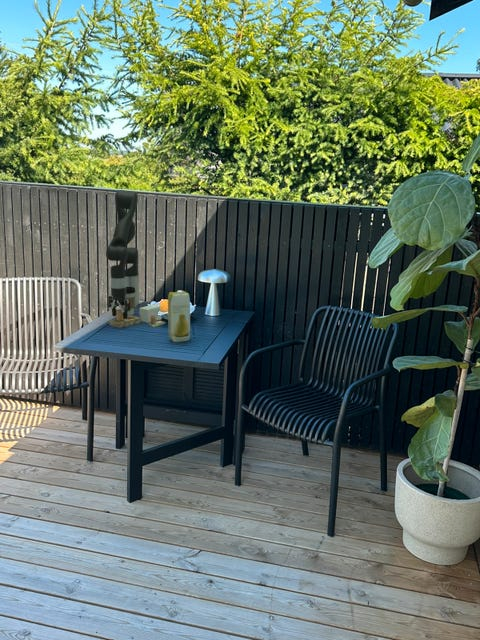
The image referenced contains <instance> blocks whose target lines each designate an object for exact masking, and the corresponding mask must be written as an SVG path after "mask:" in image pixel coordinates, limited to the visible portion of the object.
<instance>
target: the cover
mask: <svg viewBox="0 0 480 640" xmlns="http://www.w3.org/2000/svg"><path fill="white" fill-rule="evenodd" d="M160 307H161V308H162V306H161V305H158V304H157V305H156V304H150V305H147V306H142V307H139V318H141V322H143V323H147V324H150V323H151V315H155V316H156V322H158V321H161V320H162V318H163V317H161V316H160V315H158V312H159V311H160Z"/></svg>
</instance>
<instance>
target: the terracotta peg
mask: <svg viewBox="0 0 480 640" xmlns="http://www.w3.org/2000/svg"><path fill="white" fill-rule="evenodd" d="M115 317H116V319H117V322H122V321H123V311H122V309H121V308H119V309H116V316H115Z"/></svg>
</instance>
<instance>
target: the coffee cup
mask: <svg viewBox="0 0 480 640" xmlns="http://www.w3.org/2000/svg"><path fill="white" fill-rule="evenodd" d="M125 299H129V300H130V311H128V312H127V314H128V316H130V315H131V316H134V314H135V306H134V303H135V288H134V287H126V296H125ZM123 306H124V305H123ZM124 309H125V308H124ZM127 309H128V307H127Z"/></svg>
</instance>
